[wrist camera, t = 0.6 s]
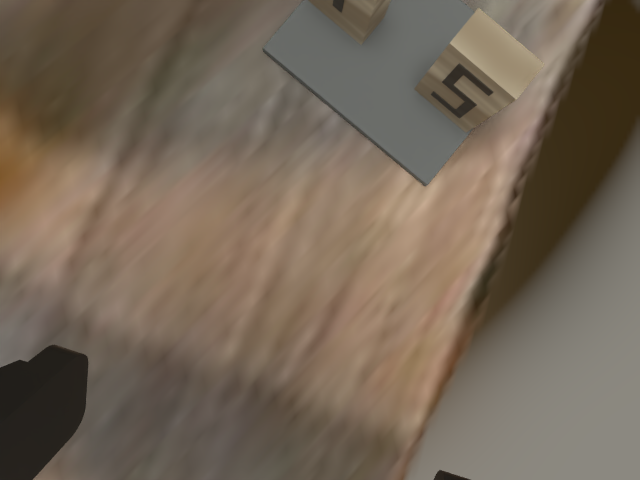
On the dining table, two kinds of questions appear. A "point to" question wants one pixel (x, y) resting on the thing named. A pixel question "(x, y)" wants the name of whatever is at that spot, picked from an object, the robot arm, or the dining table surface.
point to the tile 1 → (354, 15)
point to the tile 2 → (478, 73)
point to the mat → (379, 76)
